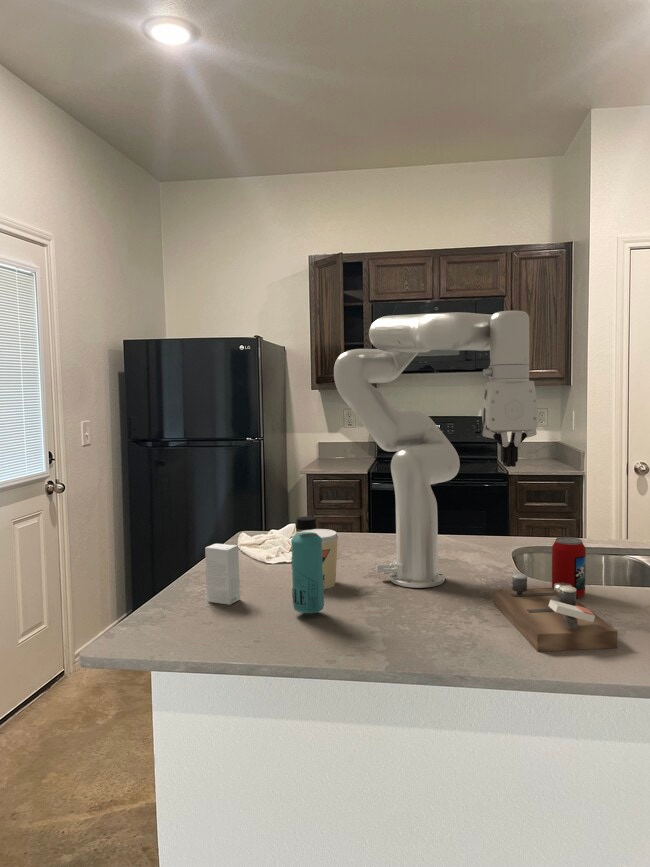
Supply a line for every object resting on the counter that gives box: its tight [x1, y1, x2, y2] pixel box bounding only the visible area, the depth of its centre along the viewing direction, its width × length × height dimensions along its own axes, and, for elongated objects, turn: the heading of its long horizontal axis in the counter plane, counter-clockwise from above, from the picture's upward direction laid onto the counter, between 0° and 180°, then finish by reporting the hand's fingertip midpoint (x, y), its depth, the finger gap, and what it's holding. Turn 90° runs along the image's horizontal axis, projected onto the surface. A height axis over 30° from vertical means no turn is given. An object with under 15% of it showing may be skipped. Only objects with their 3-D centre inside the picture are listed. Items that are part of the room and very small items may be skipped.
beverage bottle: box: [290, 515, 326, 614], centre depth 133 cm, size 6×7×20 cm
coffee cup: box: [299, 528, 339, 590], centre depth 153 cm, size 9×9×12 cm
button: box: [554, 583, 572, 597], centre depth 129 cm, size 3×3×2 cm
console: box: [493, 587, 618, 652], centre depth 126 cm, size 14×24×5 cm, turn 3°
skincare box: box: [204, 543, 241, 606], centre depth 143 cm, size 6×4×12 cm
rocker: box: [549, 600, 596, 622], centre depth 117 cm, size 7×3×1 cm, turn 94°
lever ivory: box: [560, 586, 577, 606], centre depth 125 cm, size 3×3×4 cm
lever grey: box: [511, 572, 528, 595], centre depth 133 cm, size 3×3×4 cm
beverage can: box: [551, 536, 587, 599], centre depth 142 cm, size 7×7×12 cm
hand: (509, 465), depth 133 cm, fingers closed
